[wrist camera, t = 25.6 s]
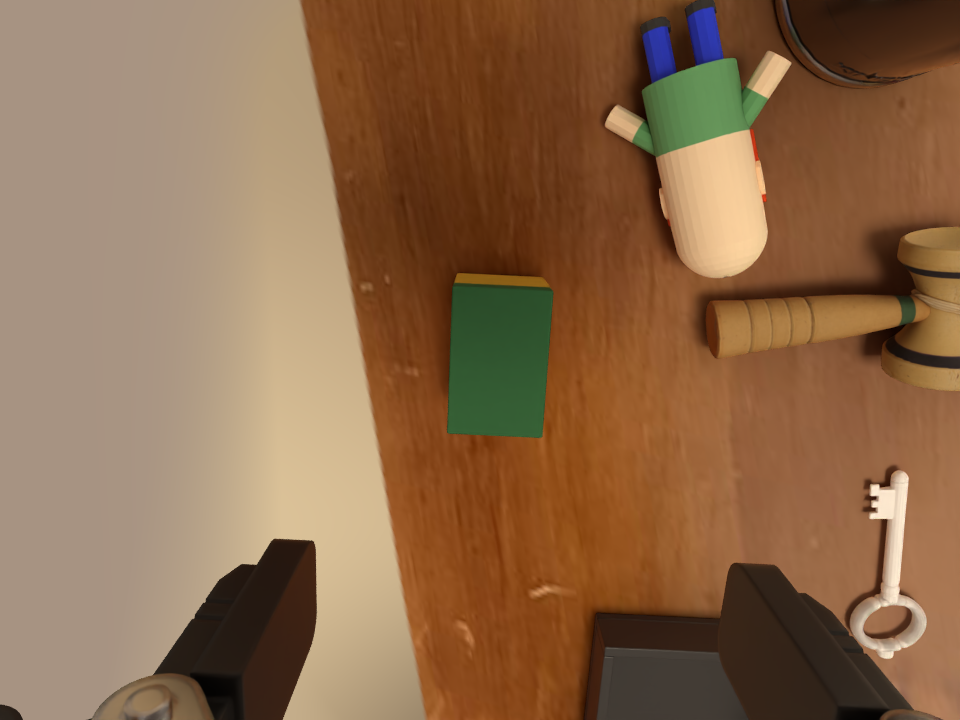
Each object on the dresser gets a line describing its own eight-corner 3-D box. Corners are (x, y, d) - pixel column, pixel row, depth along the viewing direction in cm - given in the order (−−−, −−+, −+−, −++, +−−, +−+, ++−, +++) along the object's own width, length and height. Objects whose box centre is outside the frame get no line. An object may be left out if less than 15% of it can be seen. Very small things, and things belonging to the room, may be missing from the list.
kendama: (706, 398, 36) (1071, 364, 32) (730, 419, 29) (1185, 379, 26) (692, 262, 35) (1062, 212, 32) (714, 253, 29) (1176, 191, 26)
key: (844, 653, 38) (915, 649, 38) (853, 663, 37) (926, 660, 37) (857, 469, 35) (934, 464, 35) (866, 477, 34) (946, 472, 34)
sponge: (456, 272, 33) (452, 285, 28) (543, 276, 33) (553, 290, 28) (452, 400, 34) (446, 434, 30) (534, 404, 34) (542, 438, 30)
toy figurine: (601, 56, 32) (653, 285, 34) (574, 42, 28) (634, 302, 30) (777, -16, 28) (823, 249, 30) (774, -43, 24) (826, 263, 26)
